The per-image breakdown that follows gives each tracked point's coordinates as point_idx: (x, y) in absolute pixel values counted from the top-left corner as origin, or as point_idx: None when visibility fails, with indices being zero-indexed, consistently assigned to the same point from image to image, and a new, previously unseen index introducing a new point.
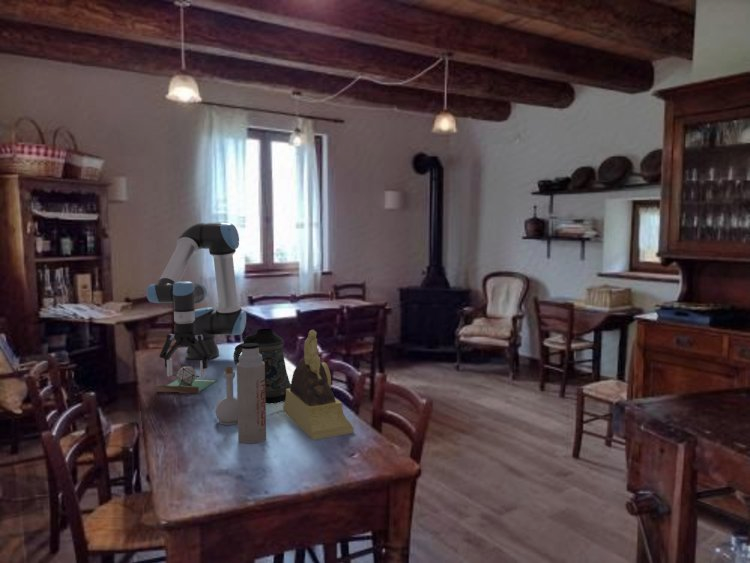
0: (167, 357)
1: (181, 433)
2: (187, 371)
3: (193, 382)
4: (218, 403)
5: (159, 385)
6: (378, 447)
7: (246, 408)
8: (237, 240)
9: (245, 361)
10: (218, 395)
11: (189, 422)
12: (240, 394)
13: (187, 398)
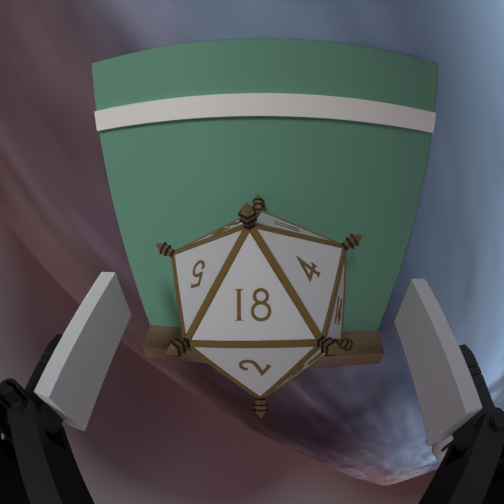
0: (68, 446)
1: (375, 458)
2: (295, 376)
3: (272, 159)
4: (440, 463)
5: (157, 355)
6: None
7: None
8: None
9: None
10: (457, 335)
11: (383, 445)
12: None
13: (343, 379)
